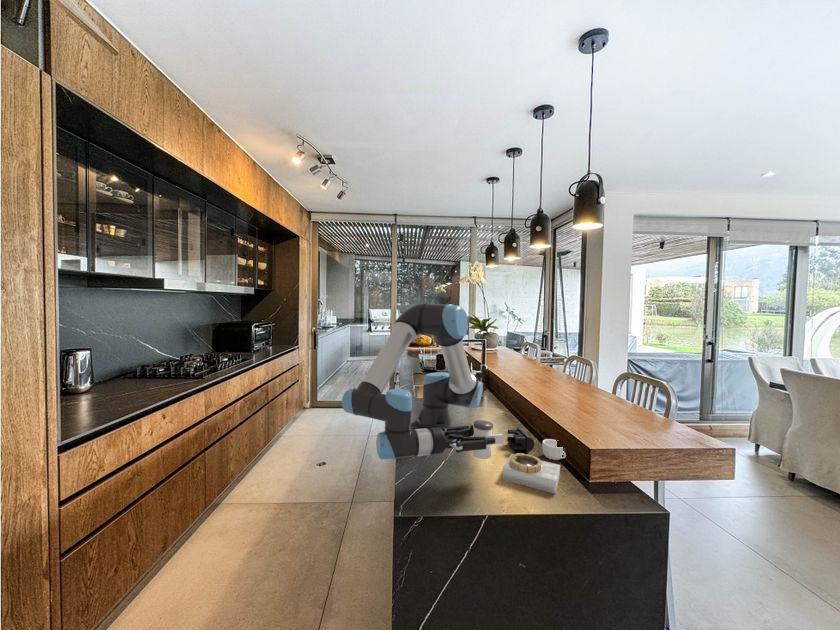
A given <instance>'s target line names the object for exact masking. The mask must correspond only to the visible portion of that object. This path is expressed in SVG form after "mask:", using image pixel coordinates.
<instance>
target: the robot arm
mask: <svg viewBox="0 0 840 630" xmlns="http://www.w3.org/2000/svg"><path fill="white" fill-rule="evenodd" d="M468 322H469V319H468V315H467V313H466V310H465V308H463V307H462V306H461V305H456V304H455V305H454V304H453V303H451V304H445V303H444V304H443V303H442V304H439V303H426V302H422V303H417V304H414V305H412V306H411V307H409V308H407V309H406V310H405V311H403V312H402V313H401V314H400V315H399V316H398V317H397V318H396V320H395V321H394V322H393V324H392V326H391V333H390V334H389V336H388V338H387V340H386V341H385V342H384V344H383V346H382V347H381V349H380V350H379V352H378V354H377V355H376V357H375V358H374V360H373V362H372V364H371V365H370V367H369V369H368V370H367V372H366V373H365V375H364V377H363V379H362V380H361V381H360V383H359V385H358V386H357V388H356V387H355V388H354V387H353V388H351V387H350V388H348V389H347V390H346V391H344V393H343V395H342V398H341V406H342V410H344V411H345V412H346V413H347V414H351V415H354V416H359V417H364V418H369V419H373V420H377V421H382V422H384V431H381V432H378V433H377V435H376V442H375V443H376V445H375V447H376V453H377V457H378V458H379V459H380V460H397V459H404V458H412V457H419V458H420V457H423V456H429V455H432V456H433V455H440V454H441V455H442V454H443V453H444V451H445V450H446V449H455V453H462V452H470V451H473V450H483V449H486V445H491V446H492V445H500V444H504V434H503V433H498V434H494V427H493V428H492V435H485V436H484V437H474V424H473V425H472V424H470V425H461V426H460V425H459V426H452V418H451V414H450V410H449V405H451V406H457V407H463V408H467V409H478V407H479V405H480V404H481V400H482V396H483V391H484V385H483V384H484V383H483V382H482V381H480V380H477V378H476V376H475V375H474V374H473V373H471V370H470V365H469V362H468V357H467V353H466V349H465V346H464V342H463V340H464V338H465V337H466V335H467V334H468V329H469V324H468ZM419 336H431V337H432V338H433V341H434V343H435V344H436V345H437V346H439V347H440V349H441V353H442V356H443V359H444V362H445V365H446V369H447V371H448V372H446V371H444V372H443V371H440V372H439V371H437V372H430V373H427V374H425V376H424V377H423V383H422V406H421V409H420V412H419V414H418V418H417V425H418V426H419V427H421V428H415V429H412V411H413V400H412V399H413V398H412V397H413V395H412V393H411V392H410V390H408V389H404V388H392V389H391V388H390V389H388V390H387V391H386V394H385V393H384V394H383V392H384V390H385V388H386V387H387V385H388V383H389V381H390V379H391V378H392V376H393V374H394V373H395V371H396V369H397V367H398V365H399V363H400V361H401V360H402V358H404V357H403V356H404V355H405V353H406V351H407V349H408V348H409V346H410V344H411V343H412V342H414V341H416V339H417V337H419Z"/></svg>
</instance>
